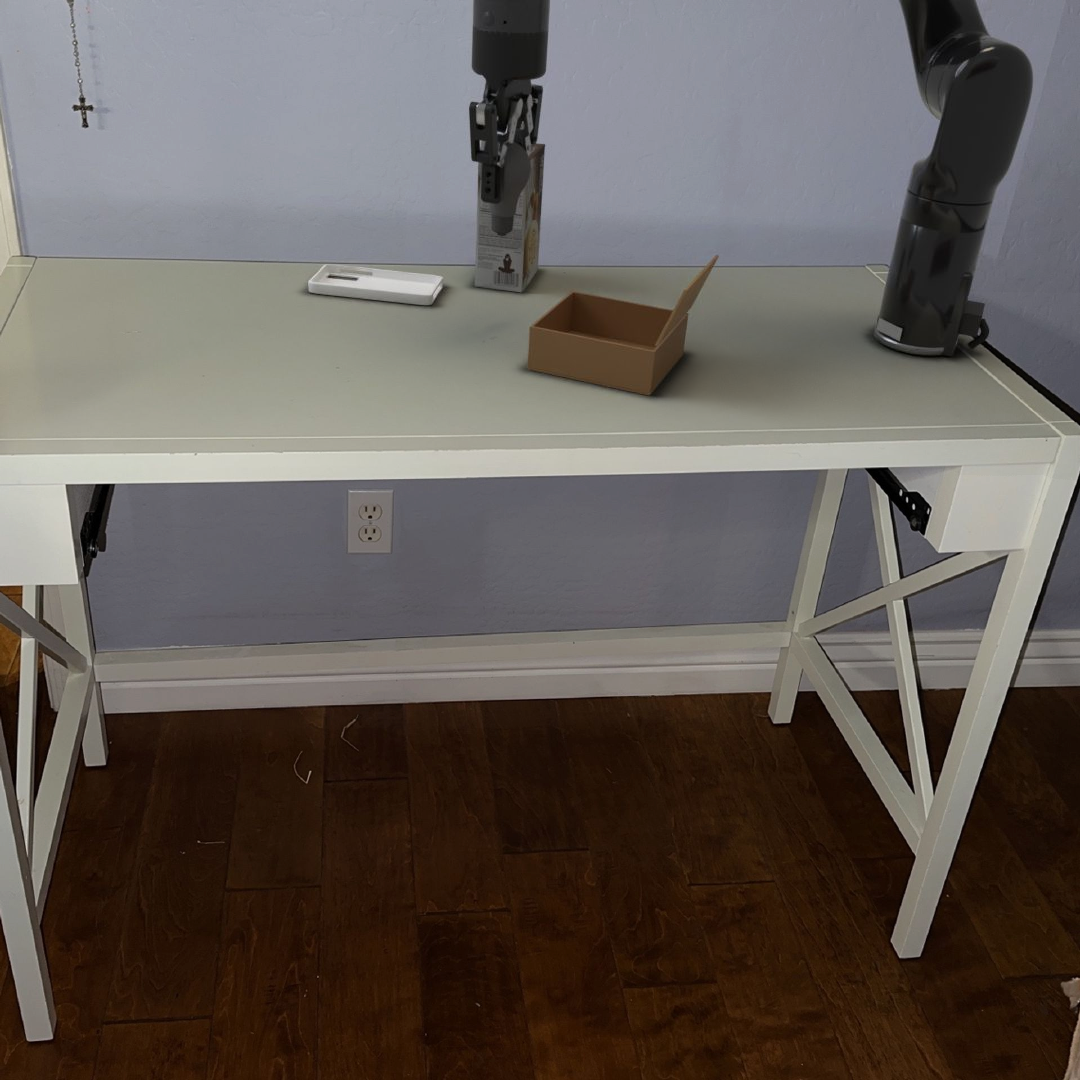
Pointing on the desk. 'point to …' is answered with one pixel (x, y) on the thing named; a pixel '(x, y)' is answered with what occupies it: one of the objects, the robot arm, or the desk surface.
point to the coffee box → (511, 236)
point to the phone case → (377, 285)
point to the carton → (606, 342)
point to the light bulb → (510, 188)
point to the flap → (686, 300)
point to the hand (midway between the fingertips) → (503, 194)
